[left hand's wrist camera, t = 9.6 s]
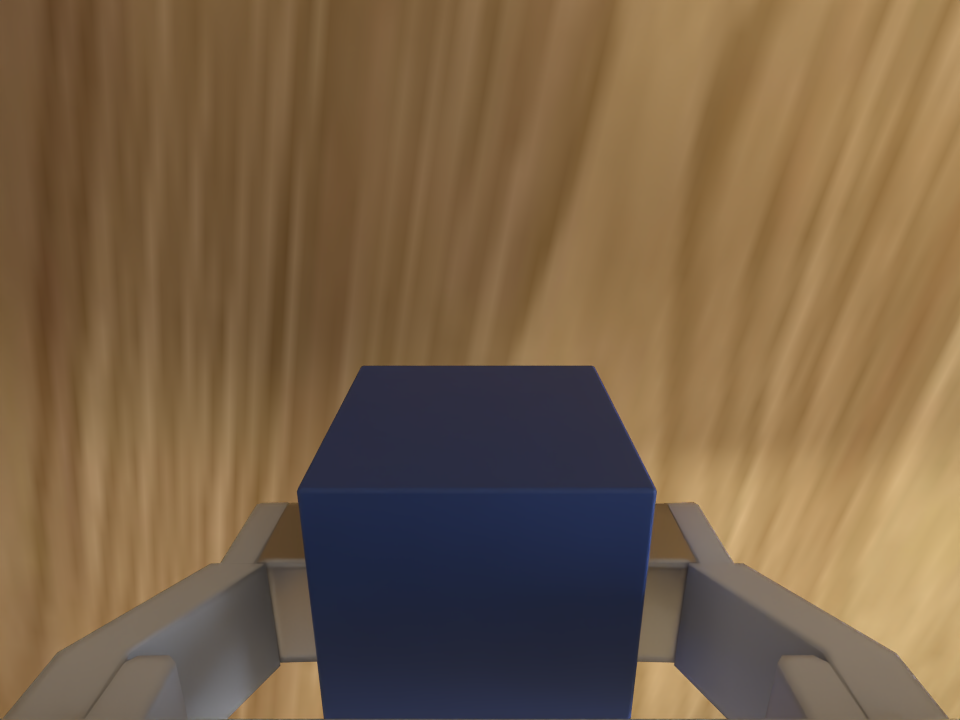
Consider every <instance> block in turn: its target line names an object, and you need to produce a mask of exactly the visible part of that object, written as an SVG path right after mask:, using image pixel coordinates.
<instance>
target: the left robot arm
mask: <svg viewBox="0 0 960 720" xmlns="http://www.w3.org/2000/svg"><path fill="white" fill-rule="evenodd" d="M316 661H317V656H316V647H315V639H314V630H313V622H312V614H311V605H310V597H309V588H308V580H307V572H306V563H305V555H304V546H303V538H302V530H301V521H300V513H299V504H298V503H291V504H290V503H260V504H258V505H256V506H255V508H254V509H253V511H252V513H251V514H250V516H249V518H248V519H247V521H246V522H245V524H244V526H243V527H242V529H241V531H240V532H239V534H238V535H237V537H236V539H235V540H234V542H233V543H232V545H231V547H230V548H229V550H228V552H227V553H226V555H225V556H224V558H223V560H222V561H221V563H215V564H209V565H207V566H206V567H204V568H202V569H201V570H199V571H197V572H195V573H194V574H192V575H190V576H189V577H187V578H185V579H183V580H182V581H180V582H178V583H176V584H175V585H173V586H171V587H170V588H168V589H166V590H164V591H163V592H161V593H159V594H157V595H156V596H154V597H152V598H151V599H149V600H147V601H145V602H144V603H142V604H140V605H139V606H137V607H135V608H133V609H132V610H130V611H128V612H126V613H125V614H123V615H121V616H120V617H118V618H116V619H114V620H113V621H111V622H109V623H107V624H106V625H104V626H102V627H101V628H99V629H97V630H95V631H94V632H92V633H90V634H89V635H87V636H85V637H83V638H82V639H80V640H78V641H76V642H75V643H73V644H71V645H70V646H68V647H66V648H64V649H63V650H61V651H59V652H58V653H57V654H56V655H55V656H54V657H53V659H52V660H51V661H50V662H49V663H48V665H47V666H46V667H45V668H44V669H43V671H42V672H41V673H40V674H39V675H38V677H37V678H36V679H35V680H34V681H33V683H32V684H31V685H30V686H29V688H28V689H27V690H26V691H25V692H24V694H23V695H22V696H21V697H20V698H19V700H18V701H17V702H16V703H15V704H14V706H13V707H12V708H11V709H10V710H9V712H8V713H7V714H6V715H5V717H4V718H3V719H0V720H960V719H949V718H948V717H947V715H946V714H945V713H944V712H943V710H942V709H941V708H940V707H939V705H938V704H937V703H936V702H935V701H934V699H933V698H932V697H931V696H930V694H929V693H928V692H927V691H926V689H925V688H924V687H923V686H922V684H921V683H920V682H919V681H918V679H917V678H916V677H915V676H914V675H913V673H912V672H911V671H910V670H909V668H908V667H907V666H906V665H905V663H904V662H903V661H902V660H901V658H900V657H899V656H898V655H897V654H896V653H895V652H893V651H891V650H890V649H888V648H886V647H885V646H883V645H881V644H879V643H878V642H876V641H874V640H873V639H871V638H869V637H868V636H866V635H864V634H862V633H861V632H859V631H857V630H856V629H854V628H852V627H851V626H849V625H847V624H845V623H844V622H842V621H840V620H839V619H837V618H835V617H834V616H832V615H830V614H828V613H827V612H825V611H823V610H822V609H820V608H818V607H816V606H815V605H813V604H811V603H810V602H808V601H806V600H805V599H803V598H801V597H799V596H798V595H796V594H794V593H793V592H791V591H789V590H788V589H786V588H784V587H782V586H781V585H779V584H777V583H776V582H774V581H772V580H771V579H769V578H767V577H765V576H764V575H762V574H760V573H759V572H757V571H755V570H753V569H752V568H750V567H748V566H747V565H745V564H740V563H733V561H732V559H731V558H730V556H729V554H728V553H727V551H726V549H725V548H724V546H723V545H722V543H721V541H720V540H719V538H718V536H717V535H716V533H715V531H714V530H713V528H712V527H711V525H710V523H709V522H708V520H707V518H706V517H705V515H704V514H703V512H702V510H701V509H700V507H699V505H697V504H696V503H694V502H685V503H664V504H655V511H654V520H653V528H652V537H651V546H650V554H649V563H648V572H647V580H646V589H645V598H644V606H643V615H642V624H641V632H640V641H639V650H638V658H637V662H673V663H674V665H675V666H676V667H677V669H678V670H679V671H680V672H681V673H682V674H683V675H684V676H685V677H686V678H687V679H688V680H689V681H690V682H691V683H692V684H693V685H694V686H695V687H696V688H697V689H698V690H699V691H700V692H701V693H702V694H703V695H704V696H705V697H706V698H707V699H708V700H709V701H710V702H711V703H712V704H713V705H714V706H715V707H716V708H717V709H718V710H719V711H720V712H721V713H722V714H723V715H724V716H725V717H726V718H727V719H227V718H228V717H229V716H230V715H231V714H232V713H233V712H234V711H235V710H236V709H237V708H238V707H239V706H240V705H241V704H242V703H243V702H244V701H245V700H246V699H247V698H248V697H249V696H250V695H251V694H252V693H253V692H254V691H255V690H256V689H257V688H258V687H259V686H260V685H261V684H262V683H263V682H264V681H265V680H266V679H267V678H268V677H269V676H270V675H271V674H272V673H273V672H274V671H275V670H276V669H277V668H278V667H279V666H280V663H282V662H316Z"/></svg>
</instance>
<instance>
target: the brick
mask: <svg viewBox="0 0 960 720" xmlns="http://www.w3.org/2000/svg"><path fill="white" fill-rule="evenodd" d="M656 494H657V491H656V488H655V486H654V484H653V482H652V480H651V478H650V476H649V474H648V472H647V470H646V468H645V466H644V464H643V462H642V460H641V458H640V456H639V454H638V452H637V450H636V448H635V447H634V445H633V443H632V441H631V439H630V437H629V435H628V433H627V431H626V429H625V427H624V425H623V423H622V421H621V419H620V417H619V415H618V413H617V411H616V409H615V407H614V405H613V403H612V401H611V399H610V397H609V395H608V393H607V391H606V389H605V387H604V385H603V383H602V381H601V379H600V377H599V375H598V373H597V371H596V369H595V367H594V366H362V367H361V368H360V370H359V372H358V374H357V376H356V378H355V380H354V382H353V384H352V386H351V387H350V389H349V391H348V393H347V395H346V397H345V399H344V401H343V403H342V405H341V407H340V409H339V411H338V413H337V414H336V416H335V418H334V420H333V422H332V424H331V426H330V428H329V430H328V432H327V434H326V436H325V438H324V439H323V441H322V443H321V445H320V447H319V449H318V451H317V453H316V455H315V457H314V459H313V461H312V463H311V465H310V466H309V468H308V470H307V472H306V474H305V476H304V478H303V480H302V482H301V484H300V486H299V488H298V490H297V496H298V504H299V513H300V521H301V530H302V538H303V546H304V555H305V563H306V572H307V580H308V588H309V597H310V605H311V614H312V622H313V630H314V639H315V647H316V656H317V664H318V673H319V681H320V689H321V698H322V706H323V715H324V719H631V710H632V702H633V693H634V684H635V676H636V667H637V658H638V650H639V641H640V632H641V624H642V615H643V606H644V598H645V589H646V580H647V572H648V563H649V554H650V546H651V537H652V528H653V520H654V511H655V502H656Z"/></svg>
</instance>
